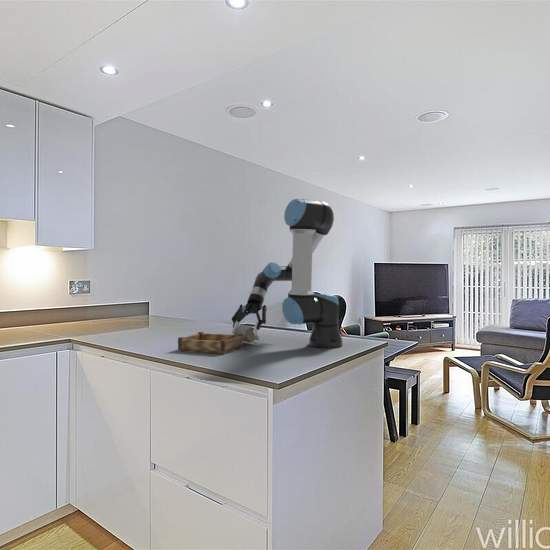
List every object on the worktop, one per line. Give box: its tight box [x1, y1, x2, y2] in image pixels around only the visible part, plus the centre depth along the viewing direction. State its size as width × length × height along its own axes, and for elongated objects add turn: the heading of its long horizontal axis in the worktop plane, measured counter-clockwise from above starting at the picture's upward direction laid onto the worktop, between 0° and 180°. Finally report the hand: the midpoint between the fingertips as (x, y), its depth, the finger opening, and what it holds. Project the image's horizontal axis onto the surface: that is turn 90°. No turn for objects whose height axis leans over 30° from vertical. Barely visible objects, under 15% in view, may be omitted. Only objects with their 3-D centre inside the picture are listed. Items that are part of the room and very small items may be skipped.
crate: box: [177, 331, 244, 355], centre depth 173 cm, size 22×18×6 cm
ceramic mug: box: [236, 324, 260, 343], centre depth 186 cm, size 11×8×8 cm
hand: (243, 334), depth 182 cm, fingers closed on ceramic mug, 10 cm apart
